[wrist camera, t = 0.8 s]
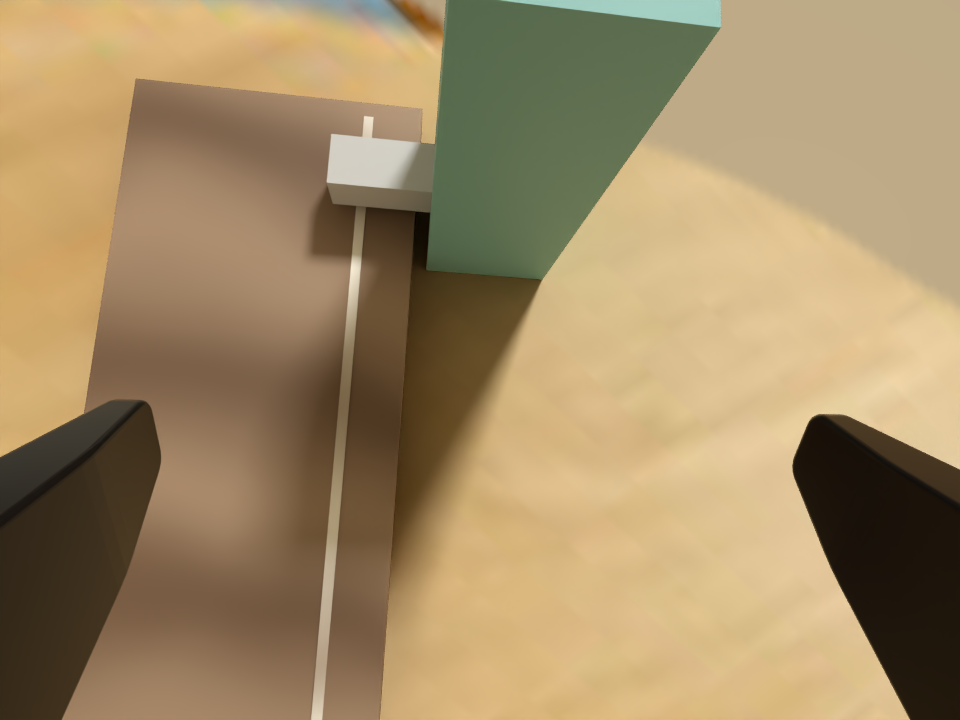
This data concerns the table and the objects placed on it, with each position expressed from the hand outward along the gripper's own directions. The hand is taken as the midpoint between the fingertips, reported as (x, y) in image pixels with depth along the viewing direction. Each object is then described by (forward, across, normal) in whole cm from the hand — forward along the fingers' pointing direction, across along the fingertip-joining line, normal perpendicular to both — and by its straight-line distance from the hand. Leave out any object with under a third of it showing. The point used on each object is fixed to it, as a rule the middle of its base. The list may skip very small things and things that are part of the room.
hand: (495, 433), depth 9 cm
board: (+10, +6, +7) cm, 14 cm away
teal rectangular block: (+15, 0, +2) cm, 15 cm away
